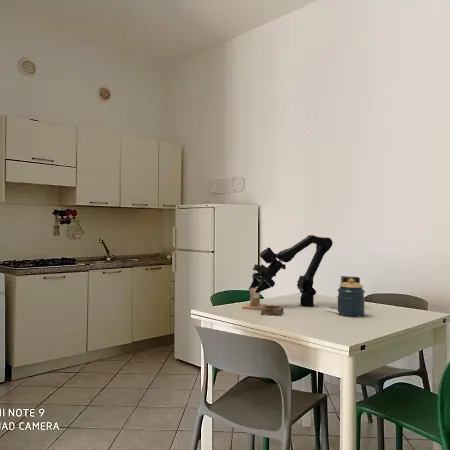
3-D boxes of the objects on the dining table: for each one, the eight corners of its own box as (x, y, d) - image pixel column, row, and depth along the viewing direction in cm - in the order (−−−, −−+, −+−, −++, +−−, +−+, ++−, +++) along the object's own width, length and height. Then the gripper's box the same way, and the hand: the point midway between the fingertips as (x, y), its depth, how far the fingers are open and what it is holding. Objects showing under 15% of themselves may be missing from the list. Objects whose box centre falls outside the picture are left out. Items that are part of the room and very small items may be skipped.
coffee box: (341, 307, 234) (342, 277, 234) (339, 305, 240) (340, 276, 240) (359, 308, 233) (360, 277, 233) (357, 306, 239) (357, 276, 239)
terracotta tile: (266, 306, 233) (266, 304, 233) (263, 310, 222) (263, 308, 222) (246, 305, 236) (246, 303, 236) (242, 308, 225) (242, 306, 225)
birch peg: (261, 305, 229) (261, 288, 229) (255, 306, 225) (255, 289, 225) (254, 304, 232) (254, 287, 232) (248, 305, 229) (248, 288, 229)
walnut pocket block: (283, 312, 218) (283, 306, 218) (280, 315, 209) (281, 309, 209) (264, 310, 220) (264, 304, 220) (261, 314, 211) (261, 308, 211)
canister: (345, 317, 207) (346, 280, 207) (332, 312, 219) (332, 277, 220) (370, 316, 210) (370, 279, 210) (355, 311, 223) (355, 276, 223)
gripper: (256, 257, 239) (236, 278, 236) (269, 260, 221) (248, 282, 218) (269, 271, 241) (250, 292, 238) (283, 275, 224) (263, 298, 220)
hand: (252, 291), depth 228 cm, fingers open, 9 cm apart
